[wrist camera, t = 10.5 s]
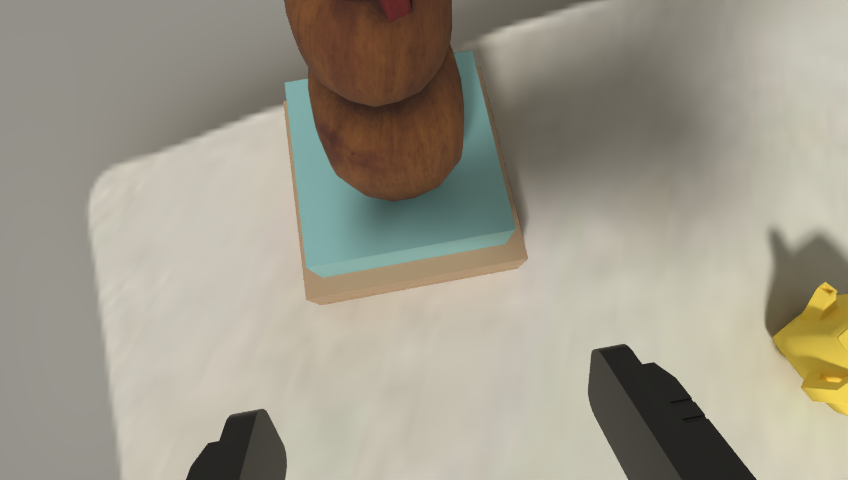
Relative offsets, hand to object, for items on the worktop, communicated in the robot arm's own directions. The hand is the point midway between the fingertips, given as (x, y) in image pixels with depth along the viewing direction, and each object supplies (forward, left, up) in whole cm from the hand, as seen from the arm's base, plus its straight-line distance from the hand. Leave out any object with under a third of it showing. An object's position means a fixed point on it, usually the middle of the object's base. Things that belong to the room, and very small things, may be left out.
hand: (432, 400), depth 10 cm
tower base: (0, -11, -14) cm, 18 cm away
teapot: (-21, +3, -15) cm, 26 cm away
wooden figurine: (0, -11, -8) cm, 14 cm away
